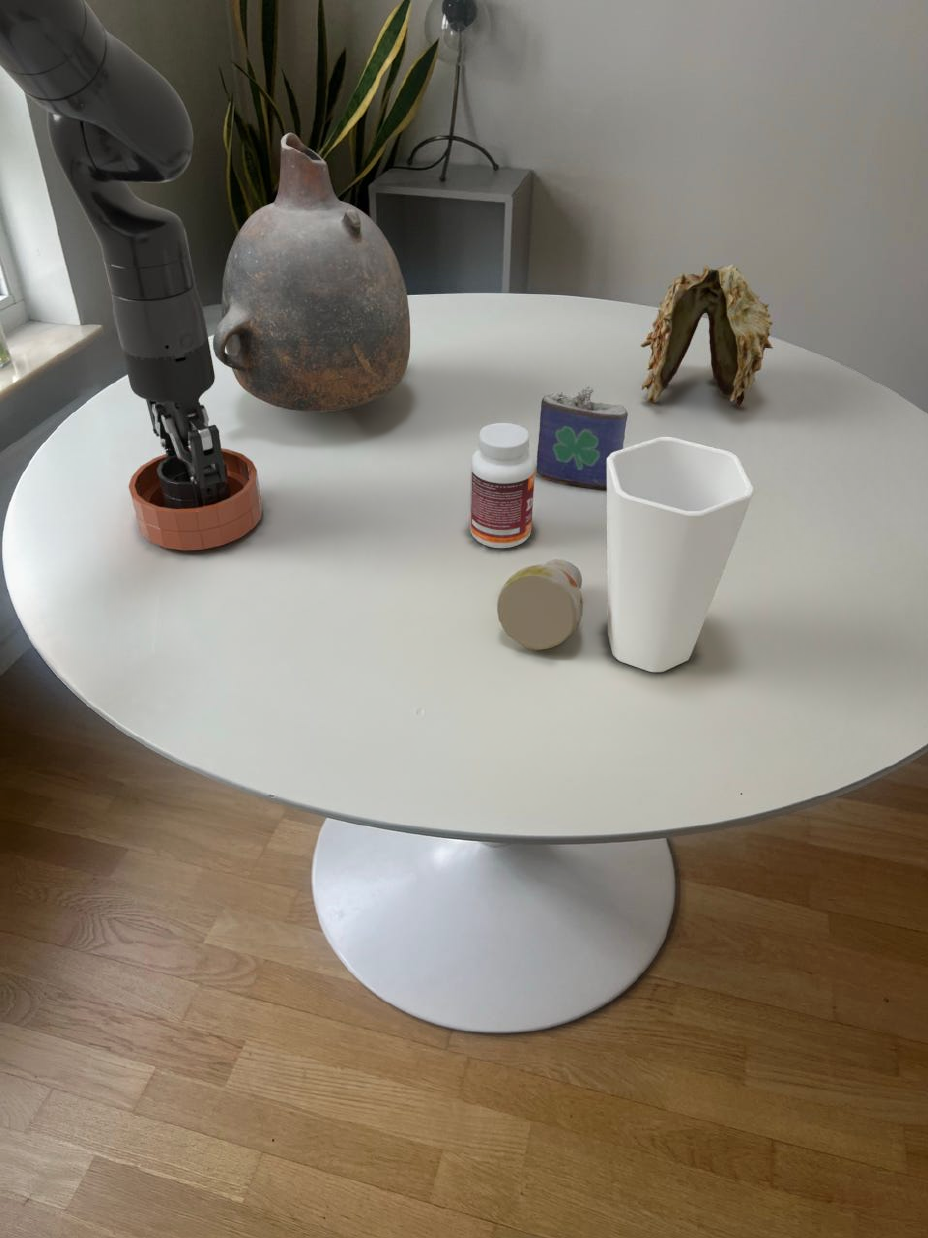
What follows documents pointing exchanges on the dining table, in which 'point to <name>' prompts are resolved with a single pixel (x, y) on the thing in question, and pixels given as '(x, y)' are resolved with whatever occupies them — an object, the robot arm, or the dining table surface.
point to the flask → (578, 438)
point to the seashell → (710, 331)
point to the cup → (668, 544)
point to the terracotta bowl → (197, 523)
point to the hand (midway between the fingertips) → (197, 496)
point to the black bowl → (182, 484)
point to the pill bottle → (502, 486)
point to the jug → (312, 297)
